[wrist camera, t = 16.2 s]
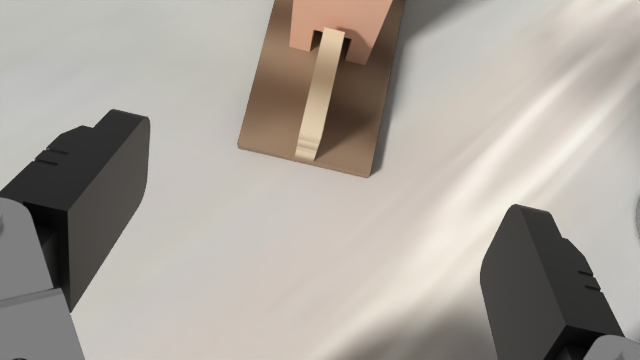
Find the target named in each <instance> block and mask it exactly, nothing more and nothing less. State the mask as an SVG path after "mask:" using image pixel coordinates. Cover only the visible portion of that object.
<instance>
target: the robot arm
mask: <svg viewBox="0 0 640 360" xmlns="http://www.w3.org/2000/svg"><path fill="white" fill-rule="evenodd" d="M149 141H150V120H149V118H148V117H145V116H141V115H137V114H133V113H128V112H124V111H120V110H116V109H112V110H110V111H109V112H108V113H107V114H106V115H105V116H104V117H103V118H102V119H101V120H100V121H99V122H98V123H97V124H96V125H95V127H94V128H91V127H87V126H83V125H82V126H79V127H77V128H75V129H72V130H70V131H67V132H65V133H63V134H60V135H59V136H58V137H57V138H56V139H55V140H54V141H53V142H52V143H51V144H50V145H49V146H48V147H46V151H45V150H43V151H42V152H41V153H40V154H39V155H38V156H37V157H36V158H35V161H34V162H33V161H32V162H31V163H30V164H29V165H28V166H26V167H25V168H24V169H23V170H22V171H21V172H20V173H19V174H18V175H17V176H16V177H15V178H14V179H13V180H12V181H11V182H10V183H9V184H7V185H6V186H5V187H4V188H3V189H2V190H1V191H0V360H85V358H84V355H83V352H82V349H81V346H80V343H79V340H78V337H77V334H76V330H75V327H74V324H73V321H72V318H71V315H70V313H71V312H72V310H73V309H74V307H75V306H76V304H77V303H78V301H79V299H80V298H81V296H82V295H83V293H84V292H85V290H86V288H87V287H88V285H89V284H90V282H91V281H92V279H93V277H94V276H95V274H96V273H97V271H98V270H99V268H100V266H101V265H102V263H103V262H104V260H105V259H106V257H107V255H108V254H109V252H110V251H111V249H112V248H113V246H114V244H115V243H116V241H117V240H118V238H119V237H120V235H121V233H122V232H123V230H124V229H125V227H126V226H127V224H128V222H129V221H130V219H131V218H132V216H133V215H134V213H135V211H136V210H137V208H138V207H139V205H140V203H141V201H142V198H143V195H144V192H145V188H146V183H147V174H148V157H149ZM636 225H637V230H638V235H639V238H640V197H639V200H638V204H637V208H636ZM480 284H481V289H482V293H483V297H484V302H485V306H486V310H487V314H488V318H489V323H490V327H491V331H492V335H493V339H494V344H495V348H496V352H497V356H498V360H640V344H638V343H636V342H634V341H632V340H630V339H627V338H625V336H624V334H623V332H622V330H621V328H620V326H619V324H618V322H617V320H616V318H615V316H614V314H613V312H612V310H611V308H610V306H609V304H608V302H607V300H606V298H605V296H604V294H603V293H602V292H600V289H601V288H600V286H599V284H598V282H597V280H596V278H594V277H593V272H592V270H591V268H590V266H589V264H588V262H587V260H586V258H585V256H584V255H583V254H582V253H581V252H580V251H579V250H578V249H577V248H576V247H575V246H574V245H573V244H572V243H571V242H570V241H569V240H568V239H565V238H562V236H561V234H560V232H559V230H558V228H557V226H556V223H555V221H554V219H553V217H552V215H551V214H550V213H549V212H547V211H543V210H539V209H535V208H530V207H526V206H522V205H518V204H514V205H512V206H511V207H510V208H509V209H508V211H507V212H506V214H505V216H504V218H503V220H502V222H501V224H500V226H499V228H498V230H497V232H496V234H495V236H494V238H493V240H492V242H491V244H490V246H489V248H488V250H487V252H486V254H485V257H484V259H483V262H482V266H481V271H480Z"/></svg>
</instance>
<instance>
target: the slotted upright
mask: <svg viewBox="0 0 640 360" xmlns="http://www.w3.org/2000/svg"><path fill="white" fill-rule="evenodd" d="M392 1H393V0H293V11H292V22H291V33H290V44H289V47H292V48H296V49H300V50H304V51H308V52H310V48H311V44H312V40H313V36H314V32H315V30H317V31H321V32H323V31H324V27H326V28H330V29H334V30H338V31H342V32H345V34H344V37H345V38H349V39H350V41H349V45H348V50H347V54H346V58H345V61H349V62H353V63H357V64H361V65H366V62H367V60H368V58H369V55H370V53H371V50H372V48H373V46H374V43H375V41H376V39H377V36H378V34H379V31H380V29H381V27H382V24H383V22H384V20H385V17H386V15H387V12H388V10H389V8H390V5H391V3H392Z"/></svg>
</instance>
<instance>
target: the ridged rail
mask: <svg viewBox="0 0 640 360" xmlns="http://www.w3.org/2000/svg"><path fill="white" fill-rule="evenodd" d="M404 3H405V0H393V1H392V3H391V5H390V8H389V10H388V12H387V15H386V17H385V20H384V22H383V24H382V27H381V29H380V31H379V34H378V36H377V39H376V41H375V43H374V46H373V48H372V50H371V53H370V55H369V58H368V60H367V62H366V65H361V64H357V63H353V62H349V61H345V58H346V54H347V50H348V45H349V41H350V39H349V38H345V37H344V34H345V32H342V31H338V30H334V29H330V28H326V27H324V31H323V32H321V31H317V30H315V32H314V36H313V40H312V44H311V48H310V52H308V51H304V50H300V49H296V48H292V47H289V44H290V33H291V22H292V11H293V0H275V1H274V5H273V9H272V12H271V16H270V20H269V24H268V28H267V32H266V36H265V39H264V43H263V47H262V51H261V55H260V59H259V62H258V66H257V70H256V74H255V78H254V82H253V85H252V89H251V93H250V97H249V101H248V105H247V108H246V112H245V116H244V120H243V124H242V128H241V131H240V135H239V139H238V143H237V145H238V148H240V149H244V150H248V151H253V152H257V153H261V154H265V155H270V156H274V157H278V158H283V159H287V160H291V161H295V162H300V163H304V164H308V165H313V166H317V167H321V168H325V169H330V170H334V171H338V172H343V173H347V174H351V175H355V176H360V177H364V178H368V177H369V175H370V172H371V167H372V162H373V157H374V152H375V147H376V142H377V137H378V132H379V127H380V122H381V117H382V112H383V107H384V102H385V97H386V92H387V87H388V82H389V77H390V72H391V67H392V62H393V57H394V53H395V48H396V43H397V38H398V33H399V28H400V23H401V18H402V13H403V8H404Z"/></svg>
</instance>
